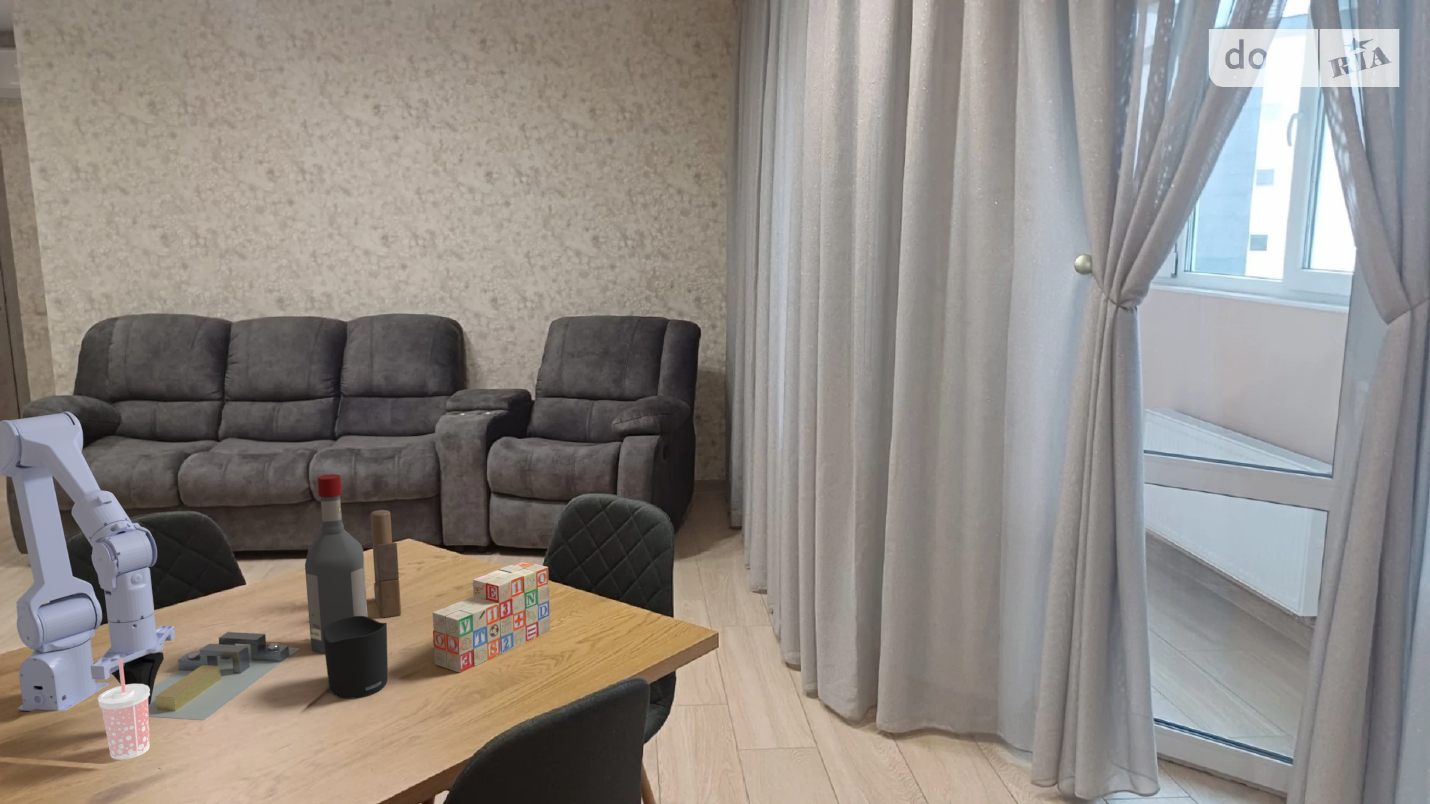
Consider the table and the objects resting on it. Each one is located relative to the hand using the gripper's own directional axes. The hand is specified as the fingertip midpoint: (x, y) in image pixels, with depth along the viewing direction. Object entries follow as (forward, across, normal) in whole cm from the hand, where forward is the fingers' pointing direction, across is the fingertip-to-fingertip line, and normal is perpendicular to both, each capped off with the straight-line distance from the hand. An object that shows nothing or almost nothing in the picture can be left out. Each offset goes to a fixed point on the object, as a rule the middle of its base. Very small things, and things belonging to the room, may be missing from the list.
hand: (141, 705), depth 145 cm
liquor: (+4, +32, -13) cm, 35 cm away
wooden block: (+4, +50, -13) cm, 52 cm away
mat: (+4, +16, 0) cm, 16 cm away
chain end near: (+3, +19, +2) cm, 20 cm away
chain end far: (+3, +24, -2) cm, 25 cm away
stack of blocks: (+4, +35, -40) cm, 53 cm away
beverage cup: (+4, -6, -3) cm, 8 cm away
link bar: (+3, +10, 0) cm, 11 cm away
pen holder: (+4, +18, -24) cm, 30 cm away
